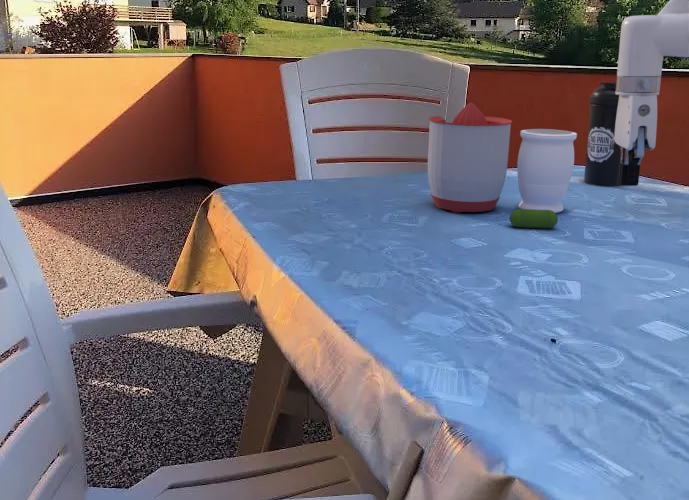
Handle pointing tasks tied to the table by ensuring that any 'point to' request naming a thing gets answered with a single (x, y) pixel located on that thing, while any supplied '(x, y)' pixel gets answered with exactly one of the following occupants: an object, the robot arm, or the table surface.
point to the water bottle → (603, 138)
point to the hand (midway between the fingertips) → (628, 184)
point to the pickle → (533, 218)
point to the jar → (545, 168)
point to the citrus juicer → (468, 160)
